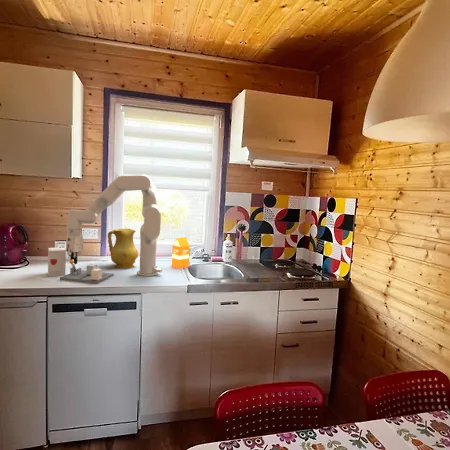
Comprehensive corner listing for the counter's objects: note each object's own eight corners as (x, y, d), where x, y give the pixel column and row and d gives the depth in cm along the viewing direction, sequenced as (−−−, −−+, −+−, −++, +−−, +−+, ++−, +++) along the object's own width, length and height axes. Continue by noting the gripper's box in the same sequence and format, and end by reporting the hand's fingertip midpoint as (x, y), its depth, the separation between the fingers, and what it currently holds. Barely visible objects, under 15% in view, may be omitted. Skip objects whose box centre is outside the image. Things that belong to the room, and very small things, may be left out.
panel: (113, 275, 201) (113, 267, 200) (97, 284, 183) (97, 274, 182) (79, 272, 204) (79, 264, 204) (60, 280, 186) (60, 271, 186)
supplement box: (47, 276, 192) (48, 250, 190) (47, 272, 199) (47, 247, 198) (65, 275, 196) (66, 249, 194) (65, 271, 204) (65, 247, 202)
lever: (79, 271, 195) (74, 258, 190) (76, 273, 194) (71, 261, 188) (75, 270, 196) (70, 258, 190) (72, 273, 194) (67, 261, 188)
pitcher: (121, 270, 213) (122, 230, 212) (103, 266, 224) (104, 228, 223) (143, 267, 227) (144, 229, 226) (125, 263, 238) (126, 227, 237)
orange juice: (171, 266, 233) (172, 237, 231) (181, 264, 239) (182, 236, 237) (179, 268, 228) (180, 238, 226) (188, 266, 234) (190, 237, 232)
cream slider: (101, 278, 188) (101, 269, 188) (97, 280, 184) (98, 270, 184) (95, 277, 189) (95, 268, 188) (91, 279, 185) (91, 270, 184)
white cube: (96, 273, 198) (96, 264, 197) (92, 274, 194) (93, 266, 193) (90, 272, 198) (90, 264, 198) (86, 274, 195) (86, 265, 194)
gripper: (72, 233, 183) (71, 267, 185) (88, 230, 198) (87, 261, 200) (60, 232, 185) (59, 265, 186) (76, 229, 199) (75, 260, 201)
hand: (73, 263), depth 193 cm, fingers closed
